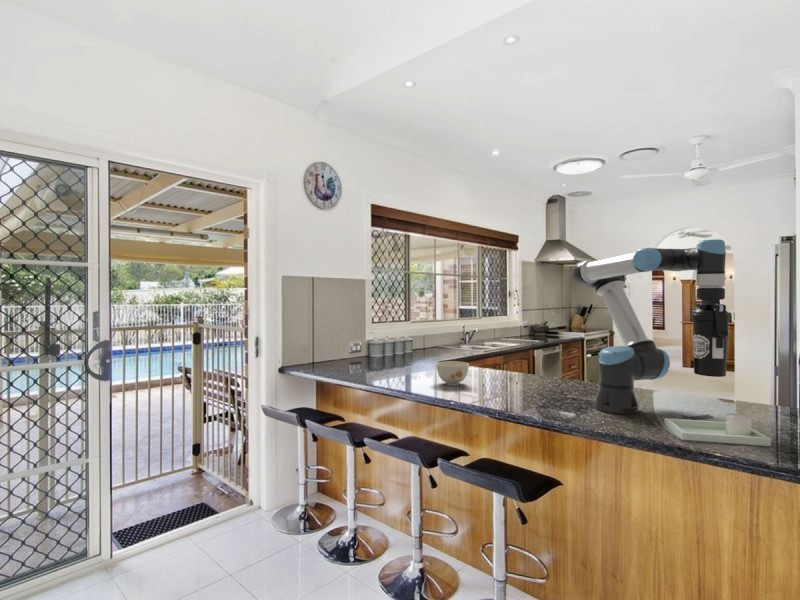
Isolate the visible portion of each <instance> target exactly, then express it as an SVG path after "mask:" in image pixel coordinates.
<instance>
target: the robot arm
mask: <svg viewBox="0 0 800 600" xmlns="http://www.w3.org/2000/svg"><path fill="white" fill-rule="evenodd" d="M726 254H727V251H726V242H725V240H723V239H719V238H717V239H713V238H712V239H703V240H698V241H697V244H696V247H691V248H659V247H654V248H653V247H645V248H644V247H642V248H640V249H637V250H636V252H629V253H626V254H622V255H617V256H612V257H609V258H604V259H600V260H593V259H589V260H588V259H587V260H582V261H579V262H577V263H576V264H575V265H574V266H573V267H572V270H571V278H572V281H573V282H574V283H575V284H576V285H577V286H579V287H581V288H591V289H592V288H594V290H595V292H596V294H597V295H598V296H599V297H602V299H603V301H604V303H605V305H606V308H607V310H608V312H609V314H610V316H611V319H612V321H613V323H614V325H615V328H616V330H617V332H618V334H619V337H620V338H621V341H622V343H623V345H618V346H616V345H615V346H607V347H604V348H602V349H601V350H600V351H599V357H598V362H599V365H598V366H599V367H598V368H599V370H598V371H599V377H598V378H599V382H598V383H599V385H598V390H597V393H596V396H595V398H594V403H593V405H594V408H595V409H596V410H599V411H601V412H606V413H611V414H615V415H616V414H617V415H634V414H637V413H639V412H640V407H639V406H640V405H639V401H638V399H637V396H636V393H635V390H634V387H635V386H634V383H635V382H634V381H645V380H646V381H647V380H649V381H650V380H652V381H653V380H656V379H661V378H663V377H665V376H666V375H667V374H668V372H669V368H671V367H670V366H671V360H670V355H668V353H667V352H666V350H664V349H661V348H659V347H657V346H656V344H655V341H654V340H652V339H649V338H648V337H647V335H646V333H645V331H644V329H643V326H642V325H641V323H640V320H639V319H638V316H637V314H636V312H635V310H634V308H633V306H632V304H631V302H630V300H629V298H628V295H627V294H626V291H625V290H624V288H625V286H626V280H627V275H633V274H634V275H635V274H639V273H646V272H647V273H648V272H652V271H670V272H683V271H685V272H686V271H696V282H695V283H696V284H695V285H696V286H697V287H698V288H697V289H696V299H697V300H701V303H696V304H695V307H696V309H698V308H699V306H696V305H711V306H708V308H711V309H713V310H715V318H716V324H715V323H713V333H714V335H713V336H712V338H713V344H712V358H720V359H723V338H725V336H728V337H729V327H728V328H727V320H726V311H727V306H726V304H723V305H720V304H721V302H720V301H721V300H724V299H726V288H723V287H724V286H725V285H726V280H727V277H726V270H725V269H726V257H727V256H726ZM696 309H695V310H696Z"/></svg>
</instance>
